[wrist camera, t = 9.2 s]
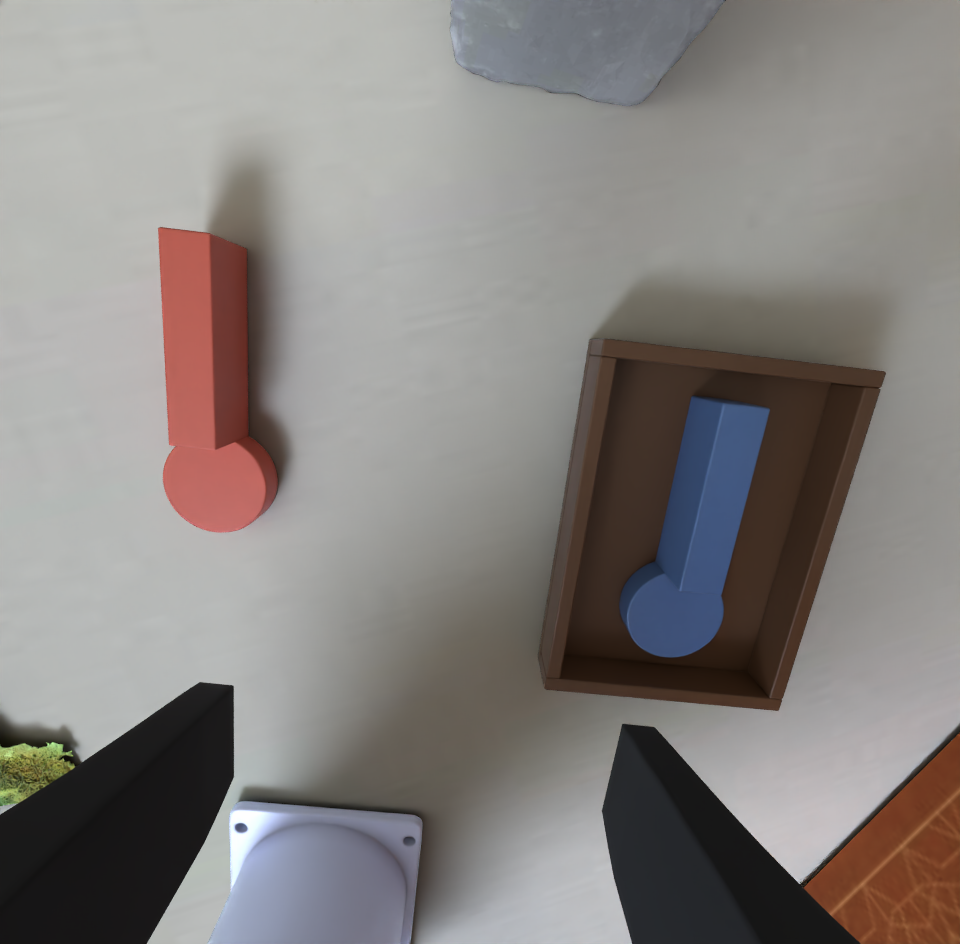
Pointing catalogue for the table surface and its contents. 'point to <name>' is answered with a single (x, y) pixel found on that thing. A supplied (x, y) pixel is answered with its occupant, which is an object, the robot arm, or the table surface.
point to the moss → (29, 770)
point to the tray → (643, 503)
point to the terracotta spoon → (209, 384)
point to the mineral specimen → (578, 43)
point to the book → (902, 864)
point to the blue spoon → (696, 530)
